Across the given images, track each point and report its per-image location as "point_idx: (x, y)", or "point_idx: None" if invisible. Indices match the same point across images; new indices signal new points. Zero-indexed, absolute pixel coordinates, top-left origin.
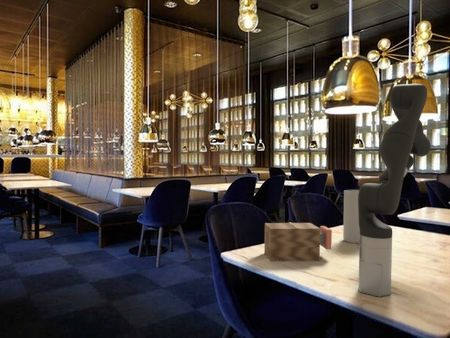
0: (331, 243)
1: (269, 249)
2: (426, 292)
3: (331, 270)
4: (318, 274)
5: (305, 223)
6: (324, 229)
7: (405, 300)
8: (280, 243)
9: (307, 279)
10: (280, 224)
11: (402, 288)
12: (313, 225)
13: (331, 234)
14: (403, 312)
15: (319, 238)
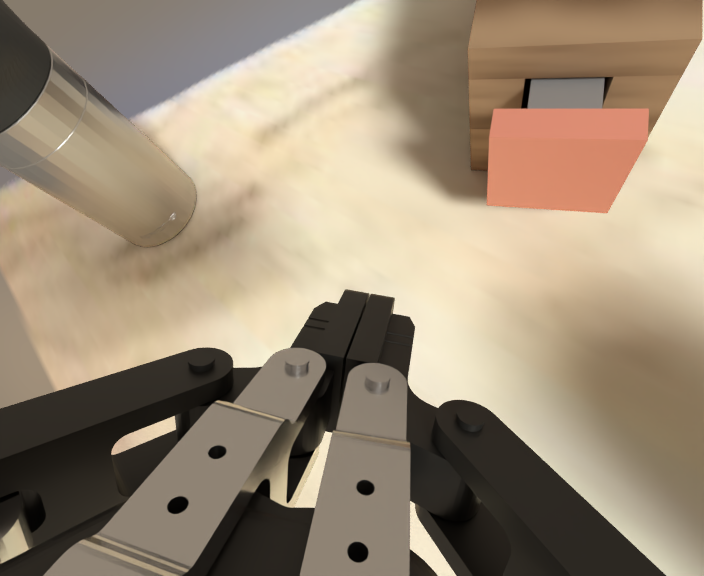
0: (487, 187)
1: None
2: (88, 345)
3: (345, 167)
4: (321, 113)
5: (677, 3)
6: (542, 113)
7: (86, 246)
8: None
9: (293, 71)
10: None
11: (136, 297)
12: (582, 35)
13: (489, 155)
14: (55, 199)
15: (469, 94)
